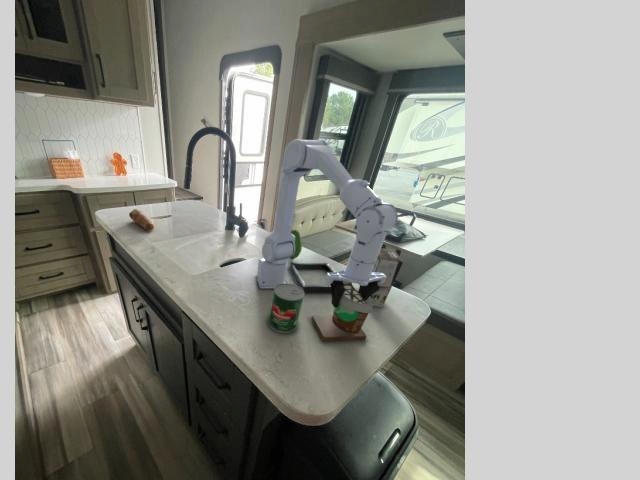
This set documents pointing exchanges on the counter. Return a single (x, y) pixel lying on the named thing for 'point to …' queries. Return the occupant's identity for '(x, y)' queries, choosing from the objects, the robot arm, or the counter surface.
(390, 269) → the coffee box
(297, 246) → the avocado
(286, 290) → the canned tomato
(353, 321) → the food container
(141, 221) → the bread
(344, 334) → the cutting board
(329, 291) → the dark square tray
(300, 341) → the counter surface
